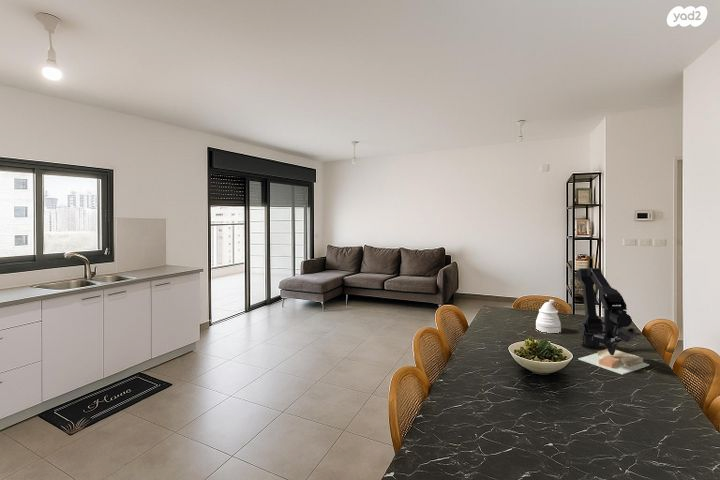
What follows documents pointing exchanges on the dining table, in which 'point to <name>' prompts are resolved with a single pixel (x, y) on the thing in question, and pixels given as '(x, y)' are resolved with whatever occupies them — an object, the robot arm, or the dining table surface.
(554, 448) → the dining table surface
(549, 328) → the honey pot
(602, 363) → the terracotta tile
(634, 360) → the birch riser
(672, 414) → the dining table surface
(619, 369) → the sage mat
